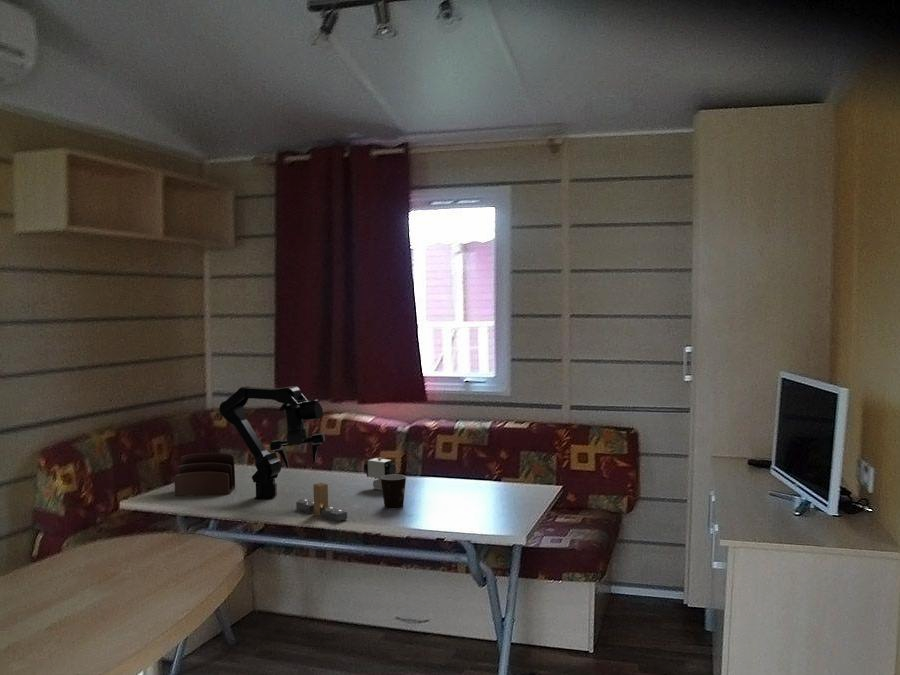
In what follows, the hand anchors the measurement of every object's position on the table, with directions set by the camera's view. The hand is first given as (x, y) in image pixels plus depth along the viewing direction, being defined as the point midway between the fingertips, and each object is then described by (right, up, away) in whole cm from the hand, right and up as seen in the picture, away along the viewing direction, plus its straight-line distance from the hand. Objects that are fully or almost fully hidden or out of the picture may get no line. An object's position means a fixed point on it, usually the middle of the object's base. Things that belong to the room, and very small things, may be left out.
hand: (301, 465), depth 278 cm
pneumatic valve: (+27, -11, +15) cm, 33 cm away
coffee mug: (+33, -12, -11) cm, 37 cm away
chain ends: (+10, -13, -19) cm, 25 cm away
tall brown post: (+10, -13, -19) cm, 25 cm away
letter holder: (-38, -13, +15) cm, 43 cm away
